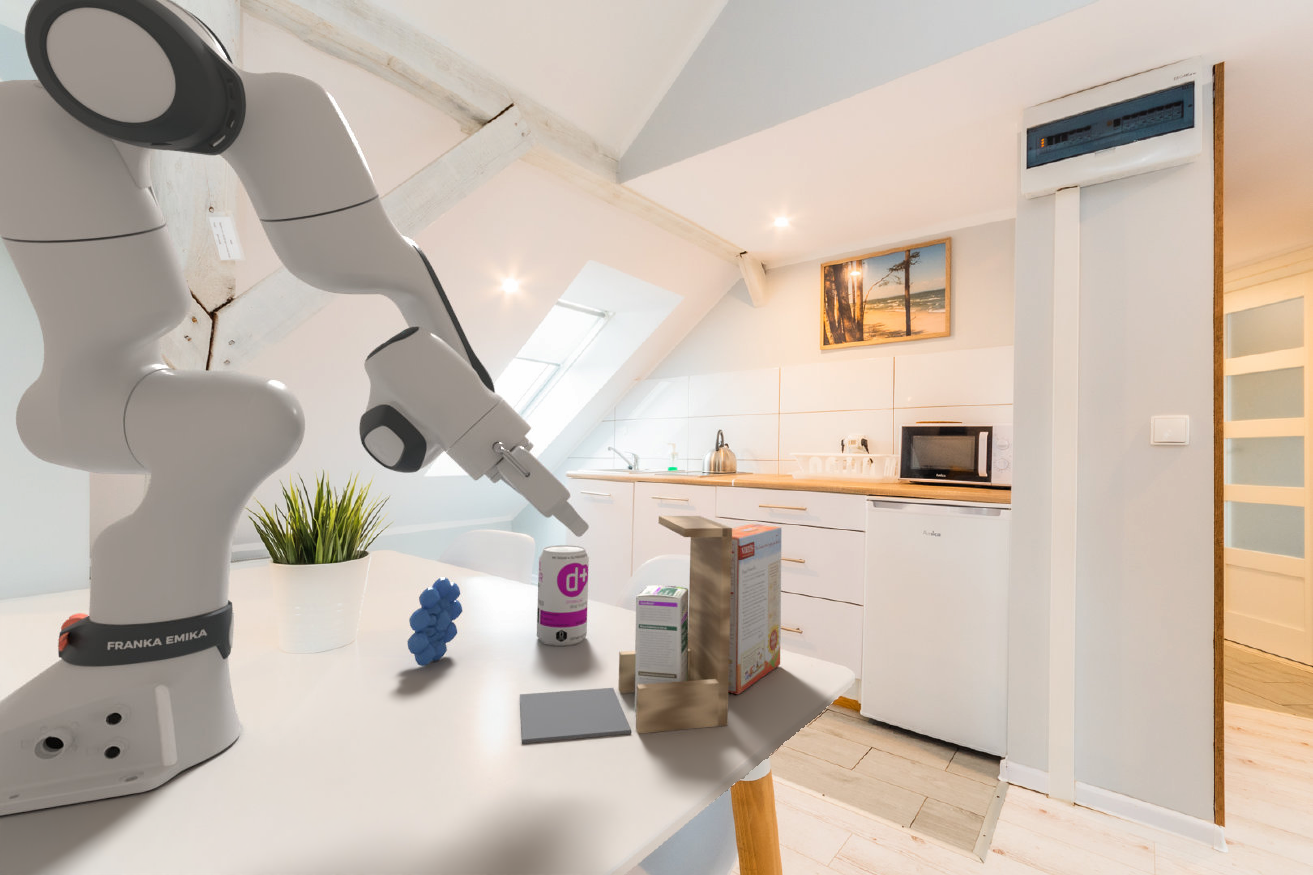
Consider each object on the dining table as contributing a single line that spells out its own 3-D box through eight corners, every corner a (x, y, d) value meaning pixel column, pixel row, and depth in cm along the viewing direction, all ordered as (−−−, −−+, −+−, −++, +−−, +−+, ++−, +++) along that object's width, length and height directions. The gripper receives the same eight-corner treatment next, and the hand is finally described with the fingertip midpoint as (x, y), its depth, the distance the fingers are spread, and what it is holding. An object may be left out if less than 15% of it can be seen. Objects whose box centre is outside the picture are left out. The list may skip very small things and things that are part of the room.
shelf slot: (637, 733, 67) (643, 528, 68) (618, 689, 79) (623, 516, 80) (727, 725, 70) (732, 528, 70) (695, 683, 82) (699, 515, 82)
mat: (521, 743, 64) (521, 739, 64) (519, 697, 76) (520, 694, 76) (631, 733, 67) (631, 729, 67) (613, 690, 79) (613, 687, 79)
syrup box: (680, 720, 71) (683, 597, 71) (632, 714, 72) (635, 593, 72) (687, 700, 77) (690, 586, 77) (642, 695, 78) (645, 583, 78)
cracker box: (745, 657, 93) (748, 522, 93) (781, 666, 90) (784, 526, 90) (698, 685, 82) (702, 531, 82) (738, 696, 78) (741, 536, 78)
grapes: (432, 645, 95) (434, 569, 95) (470, 649, 93) (473, 572, 93) (383, 671, 83) (385, 585, 84) (426, 676, 82) (428, 589, 82)
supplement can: (595, 641, 99) (597, 550, 99) (548, 650, 94) (551, 554, 94) (573, 628, 105) (575, 543, 105) (528, 636, 101) (531, 546, 101)
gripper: (520, 422, 60) (614, 517, 63) (508, 426, 79) (580, 499, 82) (473, 466, 58) (571, 562, 61) (472, 460, 78) (547, 532, 81)
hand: (576, 526), depth 72 cm, fingers open, 8 cm apart
